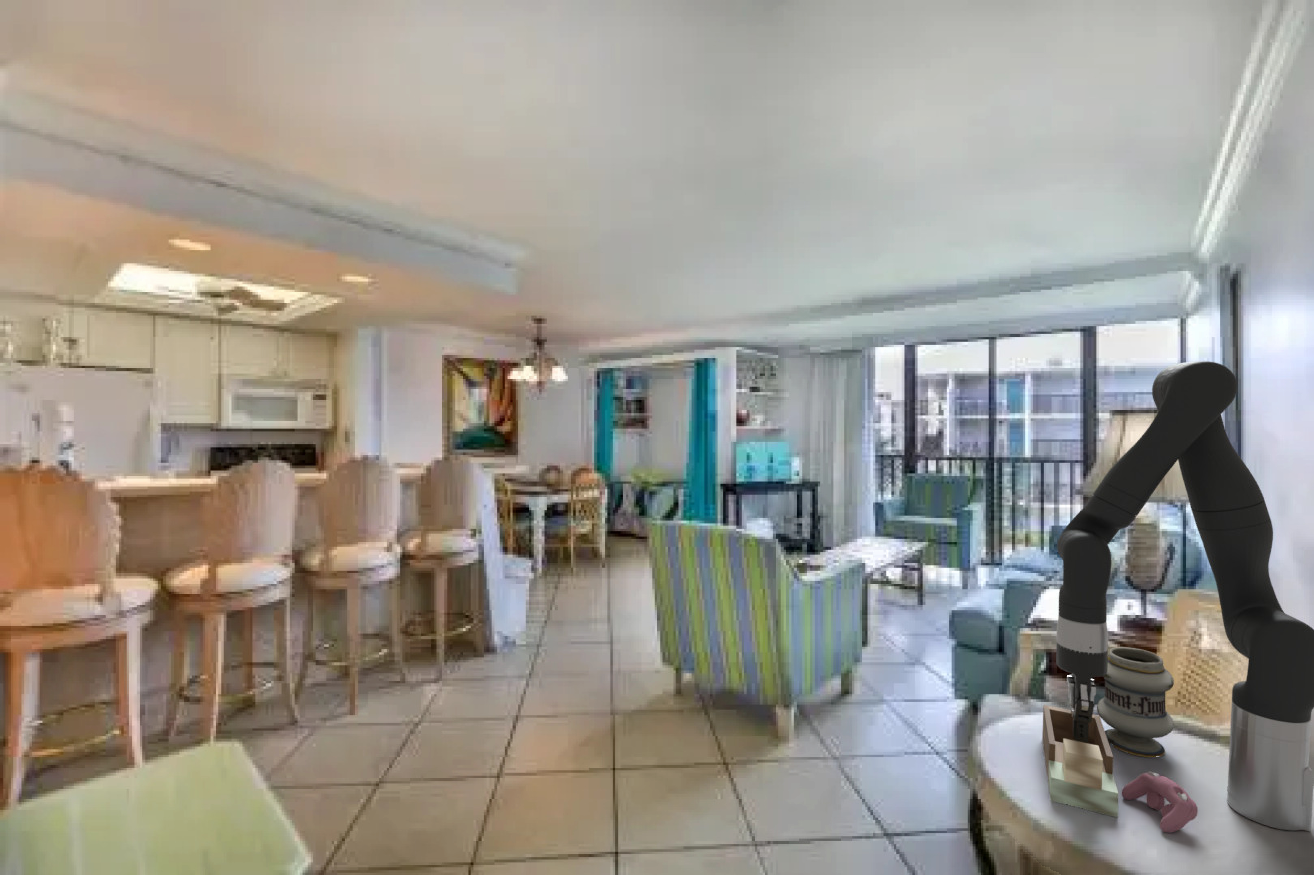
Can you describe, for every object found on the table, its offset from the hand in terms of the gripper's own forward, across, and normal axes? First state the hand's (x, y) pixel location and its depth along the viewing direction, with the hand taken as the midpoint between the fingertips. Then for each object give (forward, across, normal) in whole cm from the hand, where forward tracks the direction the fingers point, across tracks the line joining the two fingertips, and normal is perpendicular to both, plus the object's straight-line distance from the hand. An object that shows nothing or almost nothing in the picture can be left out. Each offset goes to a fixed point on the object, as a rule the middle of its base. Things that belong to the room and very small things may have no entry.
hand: (1080, 739), depth 112 cm
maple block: (+3, -7, 0) cm, 8 cm away
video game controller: (+8, -6, -10) cm, 14 cm away
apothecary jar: (+8, +19, -10) cm, 23 cm away
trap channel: (+7, +2, 0) cm, 7 cm away
